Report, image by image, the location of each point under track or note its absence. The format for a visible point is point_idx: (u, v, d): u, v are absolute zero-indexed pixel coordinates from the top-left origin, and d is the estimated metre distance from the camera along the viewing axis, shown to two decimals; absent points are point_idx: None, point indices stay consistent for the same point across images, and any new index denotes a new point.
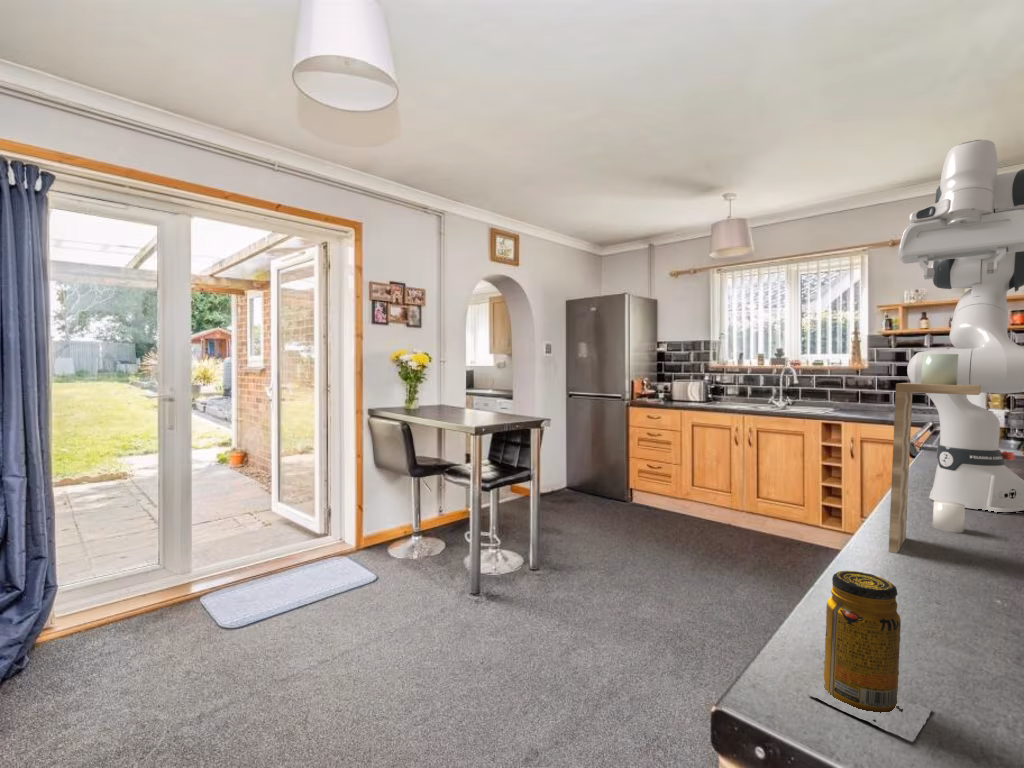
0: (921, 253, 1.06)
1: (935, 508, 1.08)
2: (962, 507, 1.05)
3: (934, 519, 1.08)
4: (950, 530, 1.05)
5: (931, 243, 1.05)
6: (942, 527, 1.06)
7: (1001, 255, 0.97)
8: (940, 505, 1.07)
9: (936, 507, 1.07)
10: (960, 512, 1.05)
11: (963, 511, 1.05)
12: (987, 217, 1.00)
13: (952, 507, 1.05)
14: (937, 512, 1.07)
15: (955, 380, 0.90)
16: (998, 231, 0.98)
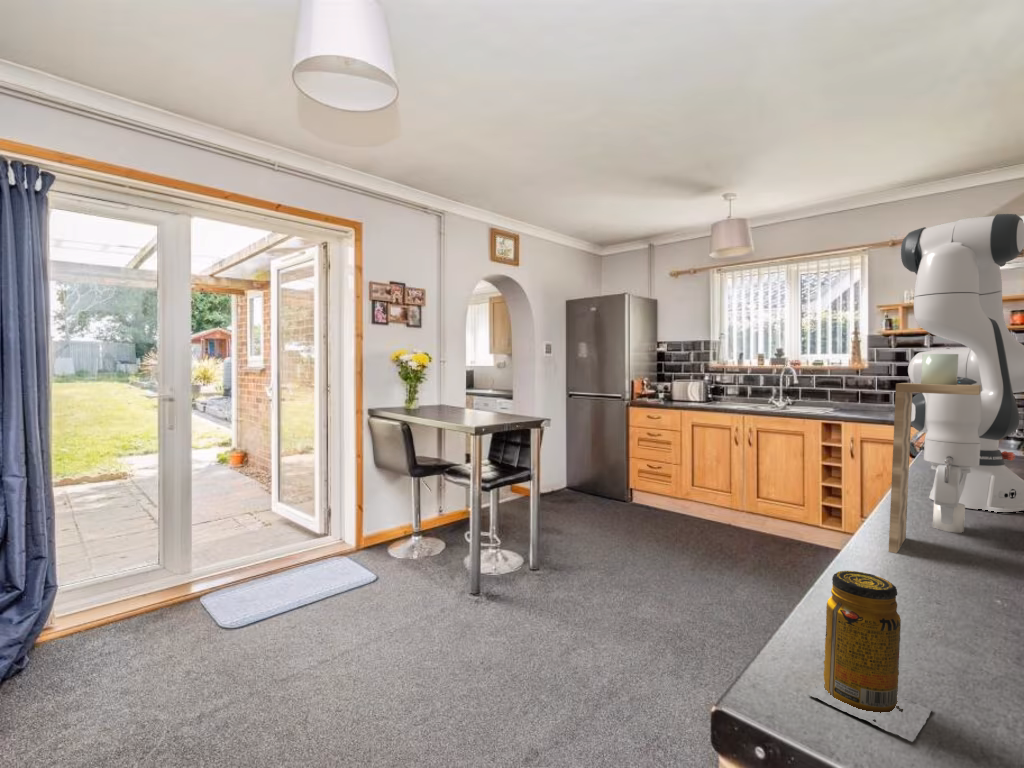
0: None
1: (935, 508, 1.08)
2: (962, 507, 1.05)
3: (934, 519, 1.08)
4: (950, 530, 1.05)
5: None
6: (942, 527, 1.06)
7: None
8: None
9: (937, 507, 1.07)
10: (961, 512, 1.05)
11: (963, 511, 1.05)
12: None
13: None
14: (938, 512, 1.07)
15: (955, 380, 0.90)
16: None
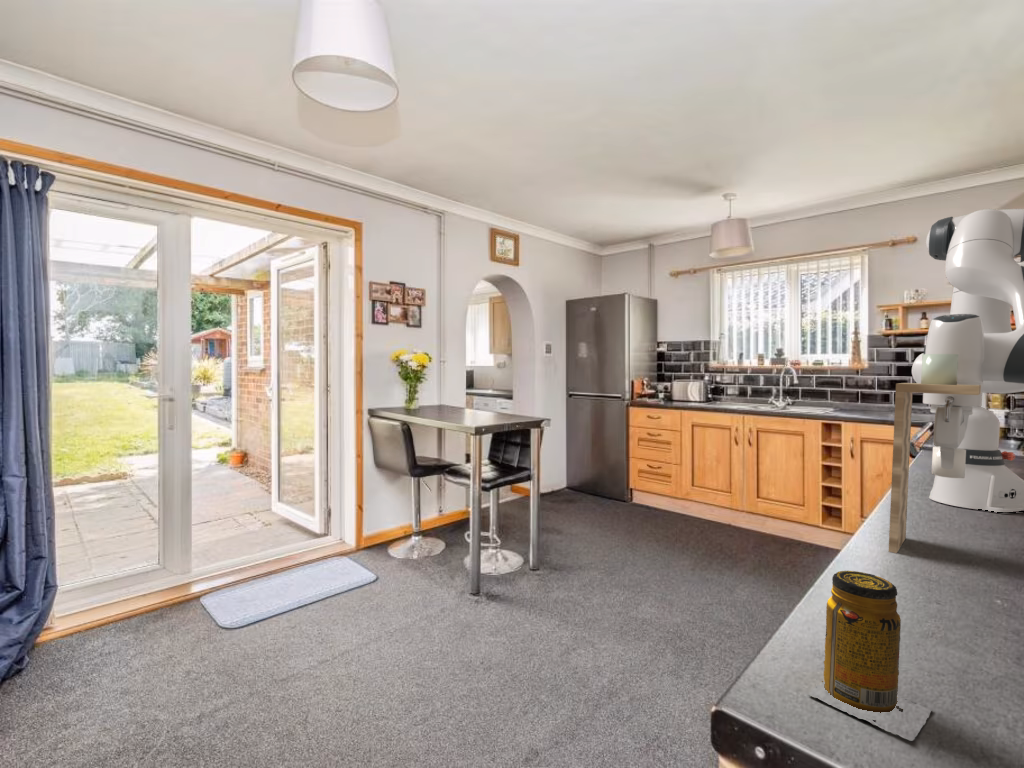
0: None
1: (934, 454, 1.02)
2: (963, 451, 0.99)
3: (933, 465, 1.02)
4: (950, 475, 0.99)
5: None
6: (942, 473, 1.00)
7: (940, 453, 0.99)
8: None
9: (936, 452, 1.01)
10: (961, 456, 0.99)
11: (964, 455, 0.99)
12: None
13: None
14: (937, 458, 1.01)
15: (955, 380, 0.90)
16: None
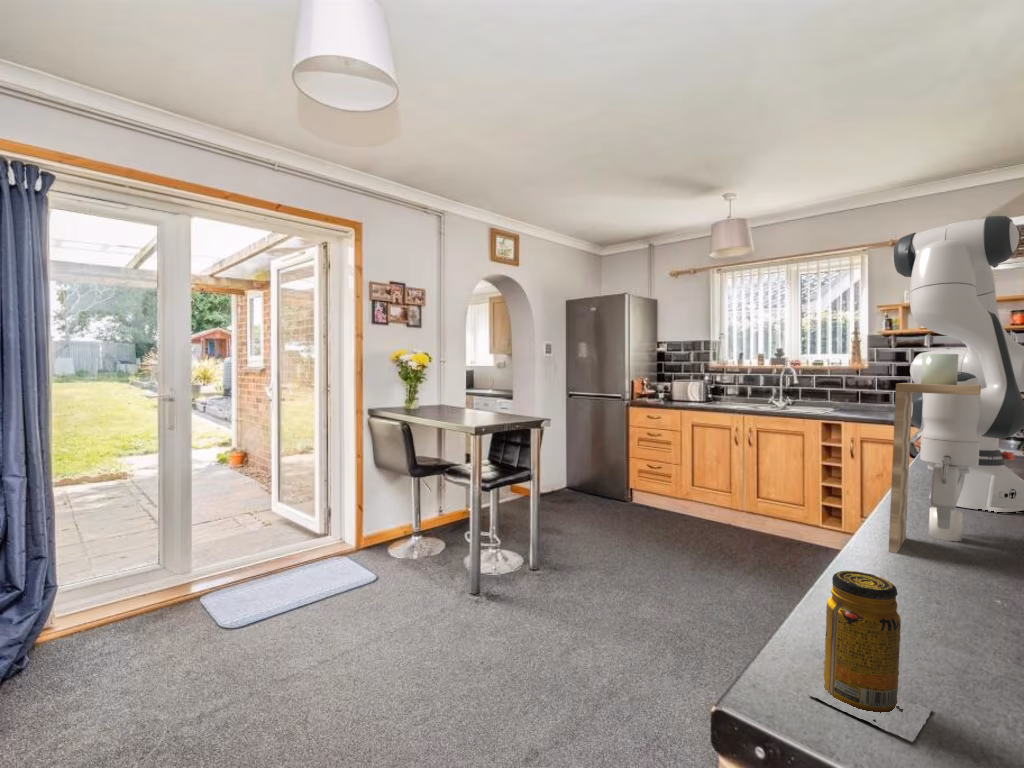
0: None
1: (931, 516, 1.02)
2: (960, 514, 0.99)
3: (930, 527, 1.02)
4: (947, 539, 1.00)
5: None
6: (939, 536, 1.01)
7: (937, 513, 0.98)
8: None
9: (933, 514, 1.02)
10: (958, 520, 0.99)
11: (961, 519, 0.99)
12: None
13: None
14: (934, 520, 1.01)
15: (955, 380, 0.90)
16: None
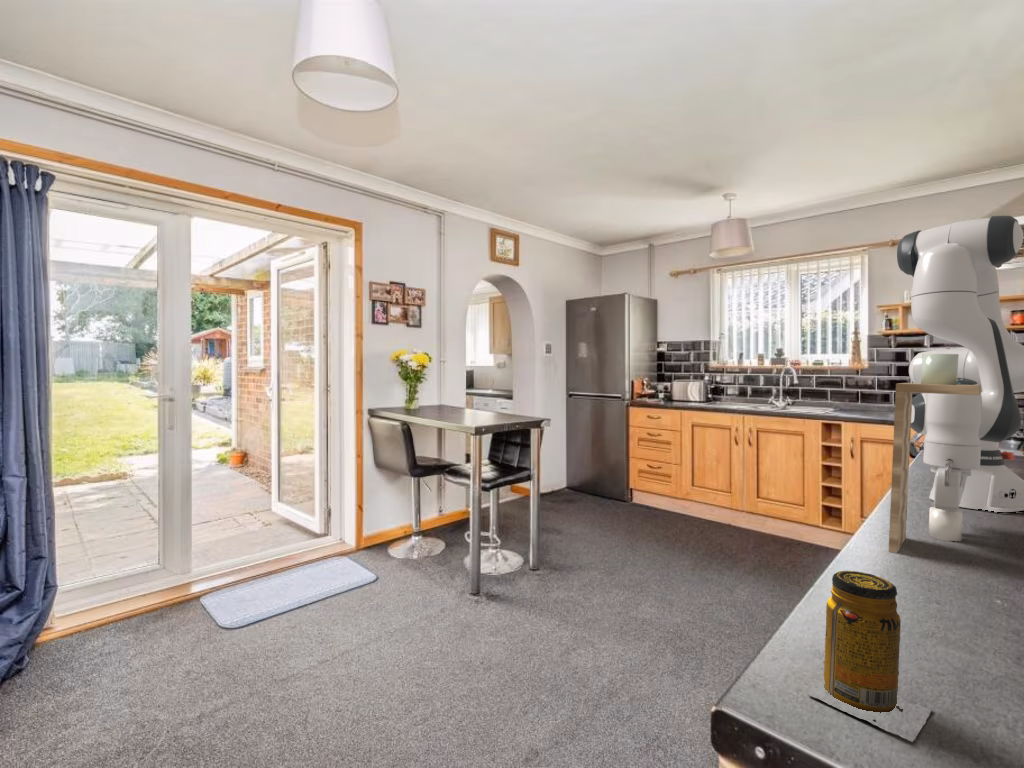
0: None
1: (931, 516, 1.02)
2: (960, 514, 0.99)
3: (931, 527, 1.02)
4: (948, 539, 1.00)
5: None
6: (940, 536, 1.00)
7: None
8: (937, 513, 1.01)
9: (933, 515, 1.01)
10: (959, 520, 0.99)
11: (961, 518, 0.99)
12: None
13: (950, 515, 0.99)
14: (935, 520, 1.01)
15: (955, 380, 0.90)
16: None
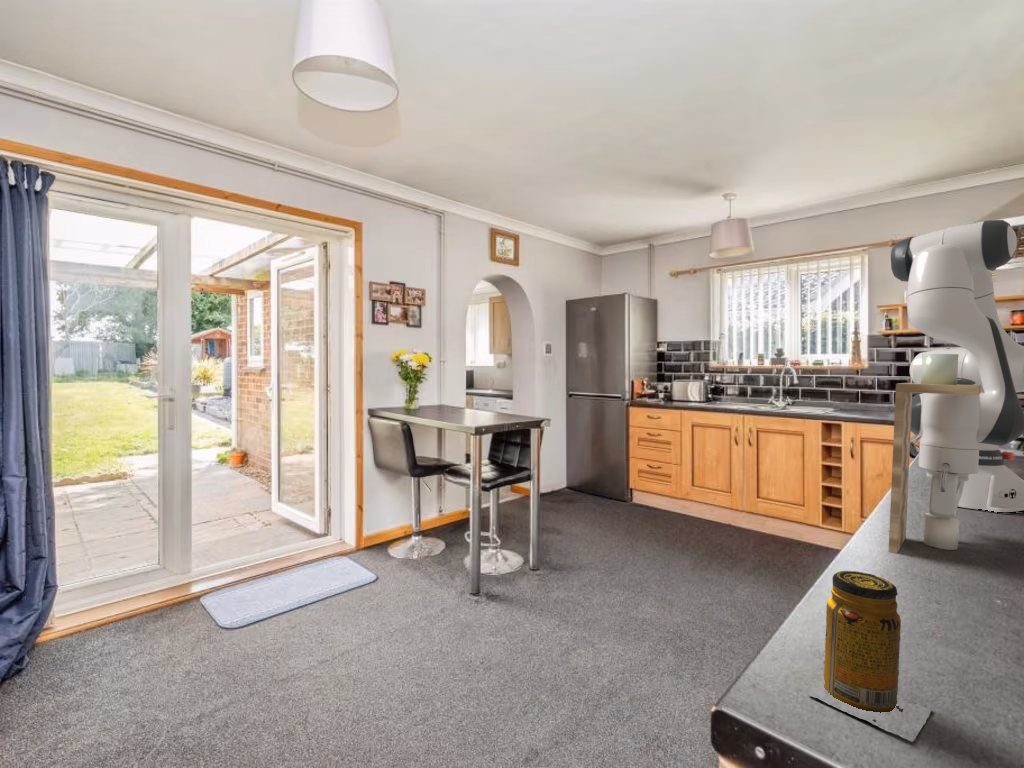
0: None
1: (926, 522, 0.97)
2: (956, 521, 0.94)
3: (926, 534, 0.97)
4: (944, 547, 0.95)
5: None
6: (935, 543, 0.96)
7: None
8: (932, 519, 0.96)
9: (928, 521, 0.97)
10: (955, 527, 0.94)
11: (957, 525, 0.95)
12: None
13: (946, 521, 0.94)
14: (930, 527, 0.96)
15: (955, 380, 0.90)
16: None
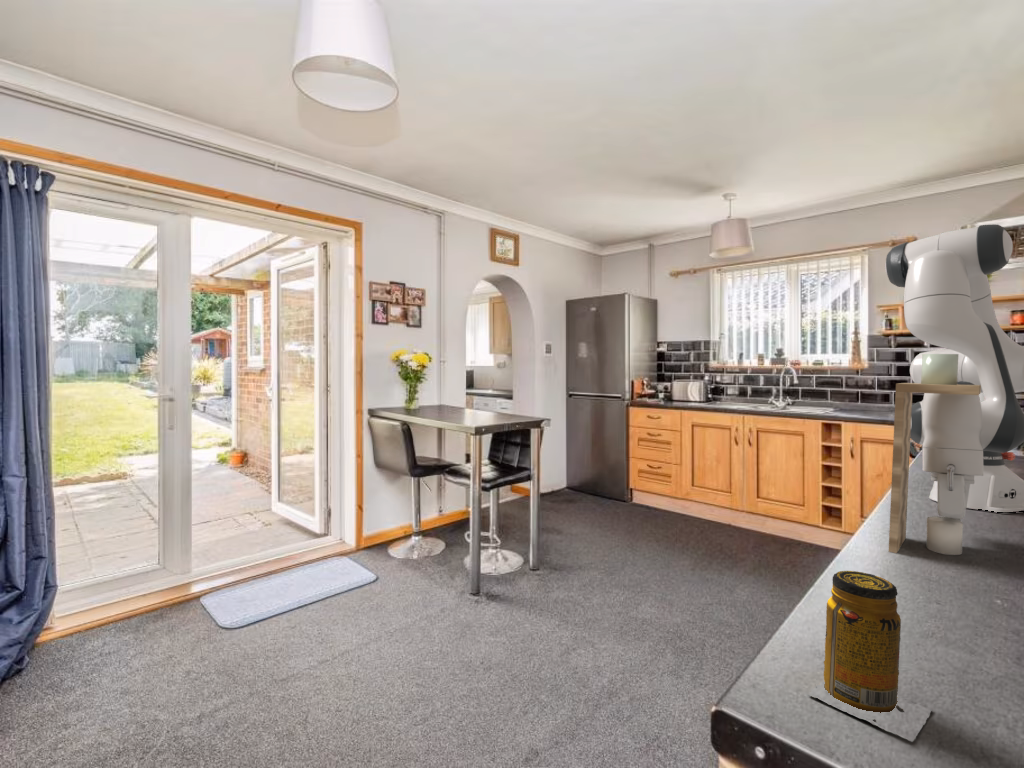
0: None
1: (927, 526, 0.95)
2: (956, 526, 0.91)
3: (927, 538, 0.95)
4: (942, 551, 0.92)
5: None
6: (933, 547, 0.94)
7: None
8: (931, 522, 0.94)
9: (928, 524, 0.95)
10: (954, 531, 0.91)
11: (958, 530, 0.92)
12: None
13: (943, 525, 0.92)
14: (929, 531, 0.94)
15: (955, 380, 0.90)
16: None
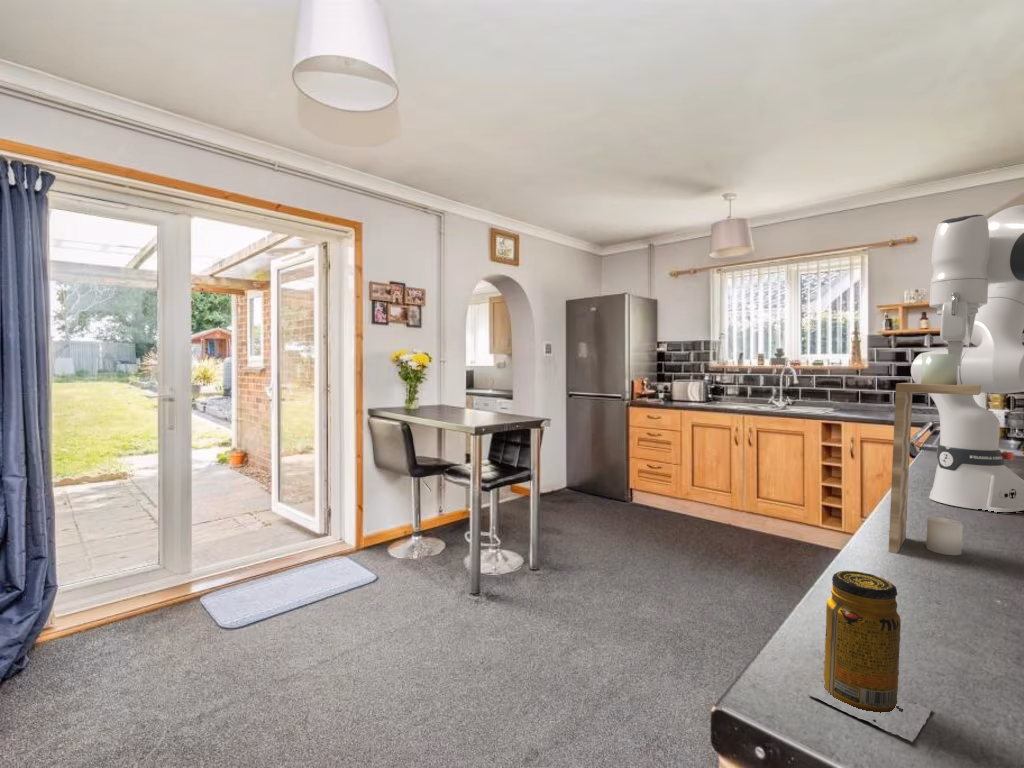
0: None
1: (927, 526, 0.95)
2: (957, 526, 0.92)
3: (927, 538, 0.95)
4: (942, 551, 0.92)
5: None
6: (934, 548, 0.93)
7: (948, 351, 1.03)
8: (931, 523, 0.94)
9: (928, 525, 0.95)
10: (955, 531, 0.92)
11: (959, 530, 0.92)
12: None
13: (944, 525, 0.92)
14: (929, 531, 0.94)
15: (955, 380, 0.90)
16: None
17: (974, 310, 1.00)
